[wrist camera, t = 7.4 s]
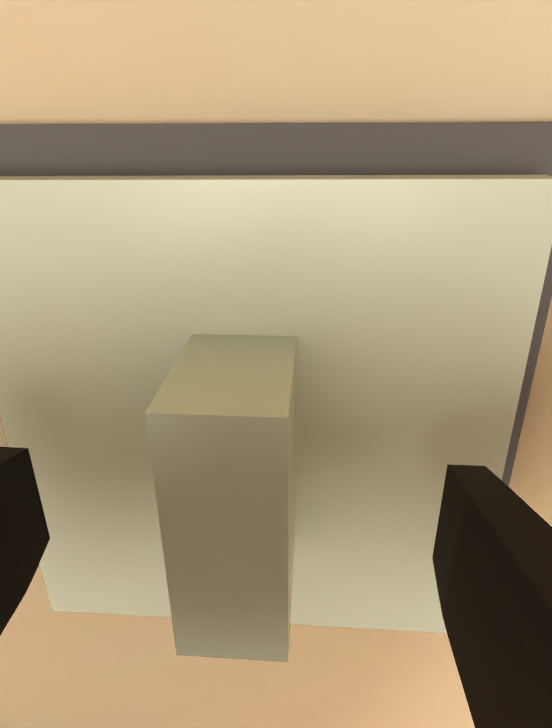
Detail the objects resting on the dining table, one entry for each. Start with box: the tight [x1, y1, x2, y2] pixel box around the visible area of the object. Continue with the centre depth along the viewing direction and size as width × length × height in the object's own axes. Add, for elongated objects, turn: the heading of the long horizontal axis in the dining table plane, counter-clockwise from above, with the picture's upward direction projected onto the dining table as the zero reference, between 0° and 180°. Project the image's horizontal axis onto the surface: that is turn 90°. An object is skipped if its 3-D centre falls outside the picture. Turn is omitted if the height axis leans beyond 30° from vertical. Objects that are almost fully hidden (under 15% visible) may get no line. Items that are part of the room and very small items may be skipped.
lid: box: [0, 175, 552, 662], centre depth 10 cm, size 11×11×4 cm
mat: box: [0, 122, 552, 486], centre depth 12 cm, size 12×12×1 cm
